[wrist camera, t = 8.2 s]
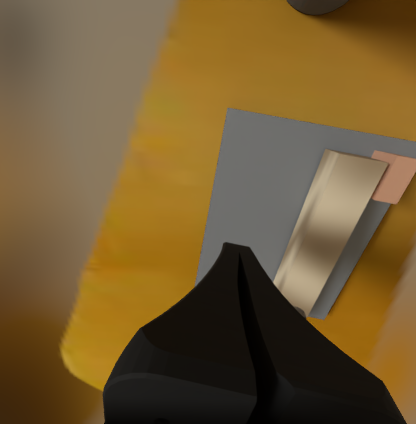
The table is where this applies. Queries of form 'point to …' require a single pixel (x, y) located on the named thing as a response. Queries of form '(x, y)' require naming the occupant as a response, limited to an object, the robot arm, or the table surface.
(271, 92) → the table surface
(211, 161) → the table surface
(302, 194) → the stool seat
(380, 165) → the stool leg
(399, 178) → the leg stop
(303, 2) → the bottle
